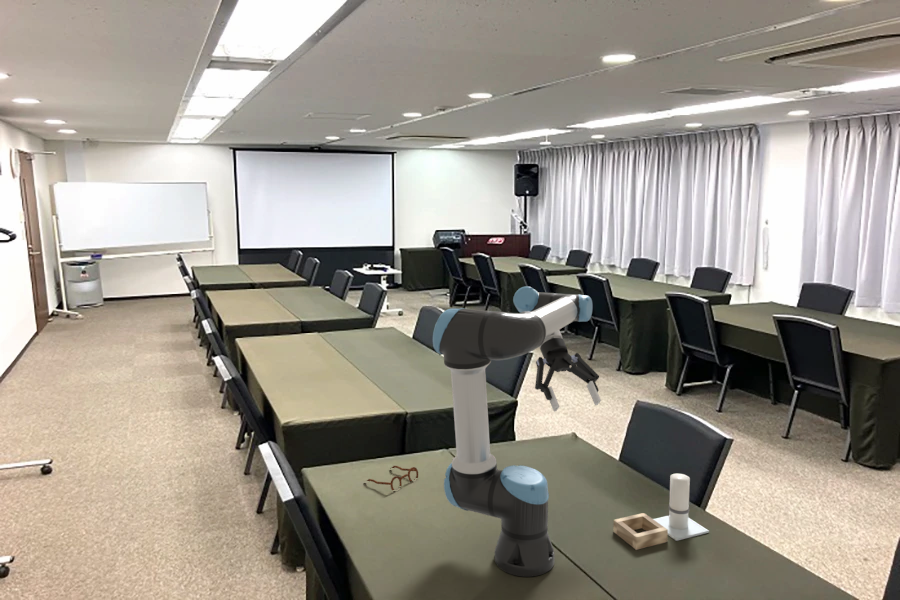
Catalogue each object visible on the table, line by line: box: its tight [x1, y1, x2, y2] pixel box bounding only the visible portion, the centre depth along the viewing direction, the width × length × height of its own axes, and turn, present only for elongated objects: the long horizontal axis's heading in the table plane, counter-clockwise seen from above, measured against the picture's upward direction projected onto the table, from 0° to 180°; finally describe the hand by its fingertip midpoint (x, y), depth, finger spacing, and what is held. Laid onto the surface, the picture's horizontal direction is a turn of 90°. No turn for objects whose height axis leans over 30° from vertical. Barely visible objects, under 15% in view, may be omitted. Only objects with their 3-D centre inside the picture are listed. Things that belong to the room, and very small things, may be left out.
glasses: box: [366, 465, 419, 491], centre depth 211 cm, size 13×13×5 cm
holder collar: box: [612, 512, 669, 551], centre depth 174 cm, size 10×10×4 cm
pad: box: [652, 515, 710, 542], centre depth 179 cm, size 11×11×1 cm
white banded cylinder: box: [668, 473, 691, 530], centre depth 177 cm, size 5×5×14 cm
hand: (577, 406), depth 182 cm, fingers open, 13 cm apart
